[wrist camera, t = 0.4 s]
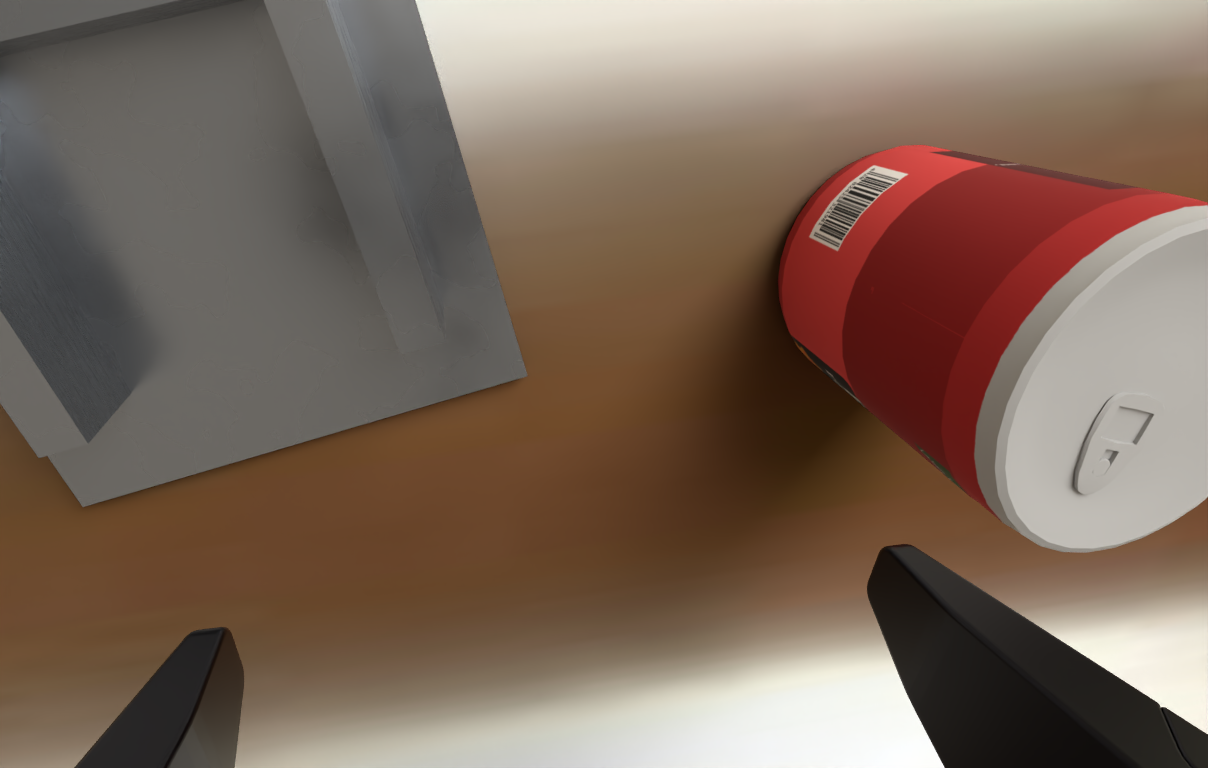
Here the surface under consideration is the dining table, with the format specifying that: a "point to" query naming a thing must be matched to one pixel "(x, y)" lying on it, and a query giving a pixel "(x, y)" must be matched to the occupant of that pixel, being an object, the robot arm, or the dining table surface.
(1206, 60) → the dining table surface
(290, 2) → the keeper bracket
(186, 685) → the robot arm
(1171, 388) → the canned food
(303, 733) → the dining table surface
